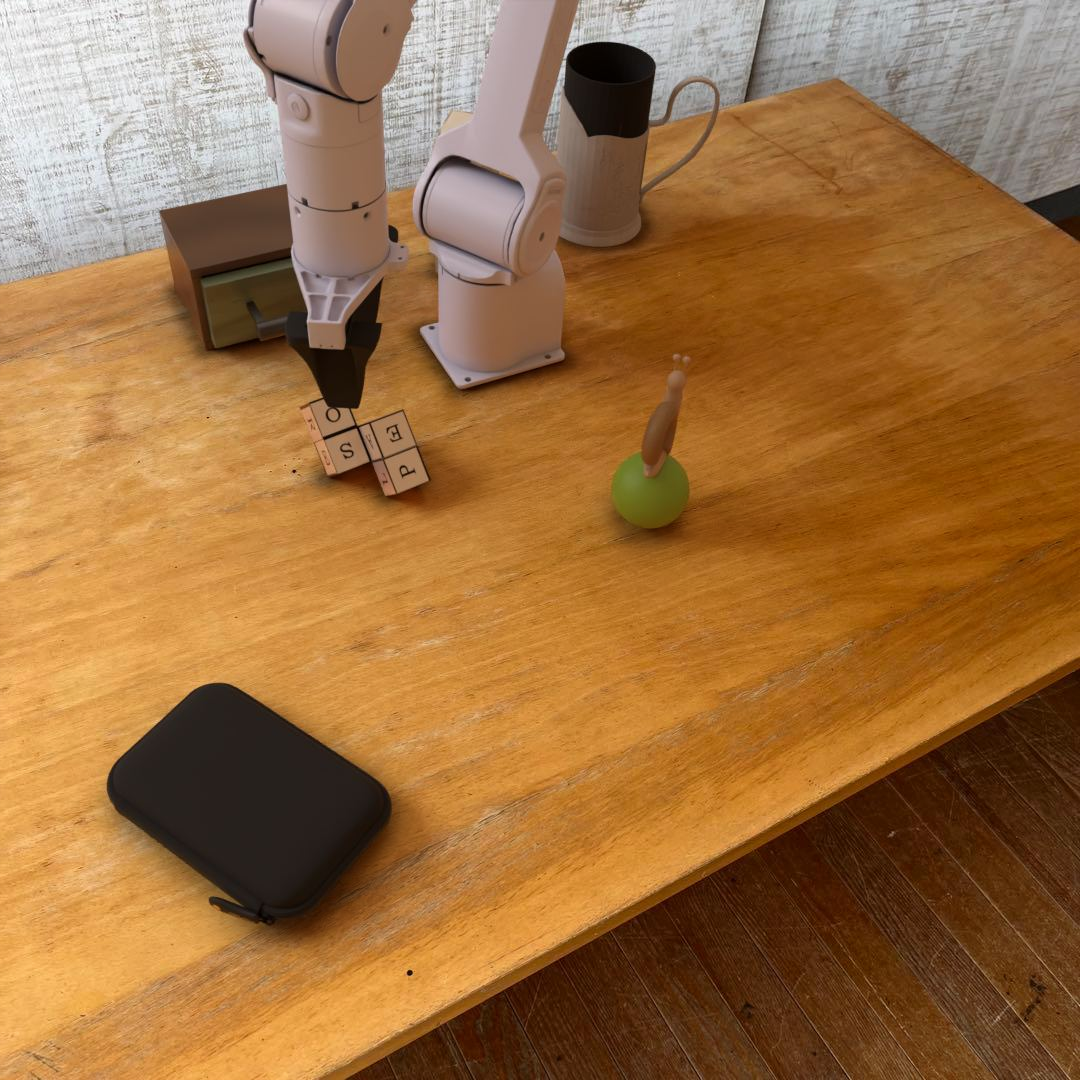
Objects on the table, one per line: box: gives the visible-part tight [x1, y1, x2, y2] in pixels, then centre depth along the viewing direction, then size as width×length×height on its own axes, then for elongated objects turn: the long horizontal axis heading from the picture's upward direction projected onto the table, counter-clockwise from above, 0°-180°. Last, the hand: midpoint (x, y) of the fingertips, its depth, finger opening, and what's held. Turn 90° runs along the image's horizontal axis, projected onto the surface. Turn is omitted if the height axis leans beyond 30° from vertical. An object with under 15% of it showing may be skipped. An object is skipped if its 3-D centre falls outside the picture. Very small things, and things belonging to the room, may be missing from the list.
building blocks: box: [298, 397, 432, 497], centre depth 83 cm, size 5×5×8 cm
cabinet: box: [158, 183, 293, 351], centre depth 94 cm, size 9×13×8 cm
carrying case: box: [106, 682, 393, 927], centre depth 65 cm, size 11×3×15 cm
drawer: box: [200, 256, 308, 349], centre depth 92 cm, size 12×11×6 cm
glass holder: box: [555, 41, 721, 248], centre depth 103 cm, size 9×14×15 cm, turn 96°
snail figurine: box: [610, 353, 692, 529], centre depth 79 cm, size 5×6×12 cm
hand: (351, 366), depth 78 cm, fingers open, 7 cm apart
